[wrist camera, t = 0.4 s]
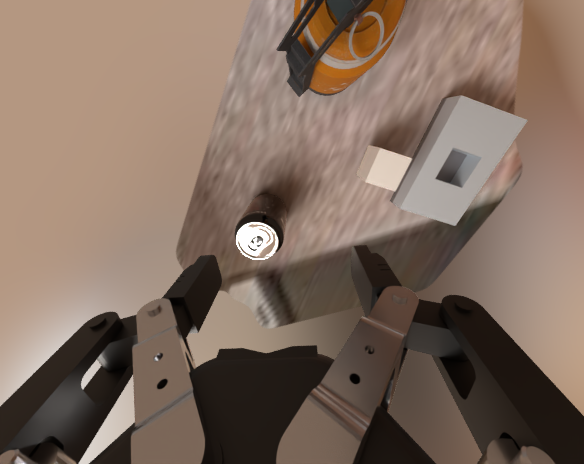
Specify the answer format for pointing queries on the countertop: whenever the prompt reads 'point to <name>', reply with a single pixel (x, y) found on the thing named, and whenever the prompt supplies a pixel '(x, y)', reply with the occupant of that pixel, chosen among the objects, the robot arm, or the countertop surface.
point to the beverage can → (262, 227)
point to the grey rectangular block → (455, 158)
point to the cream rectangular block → (383, 167)
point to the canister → (337, 41)
